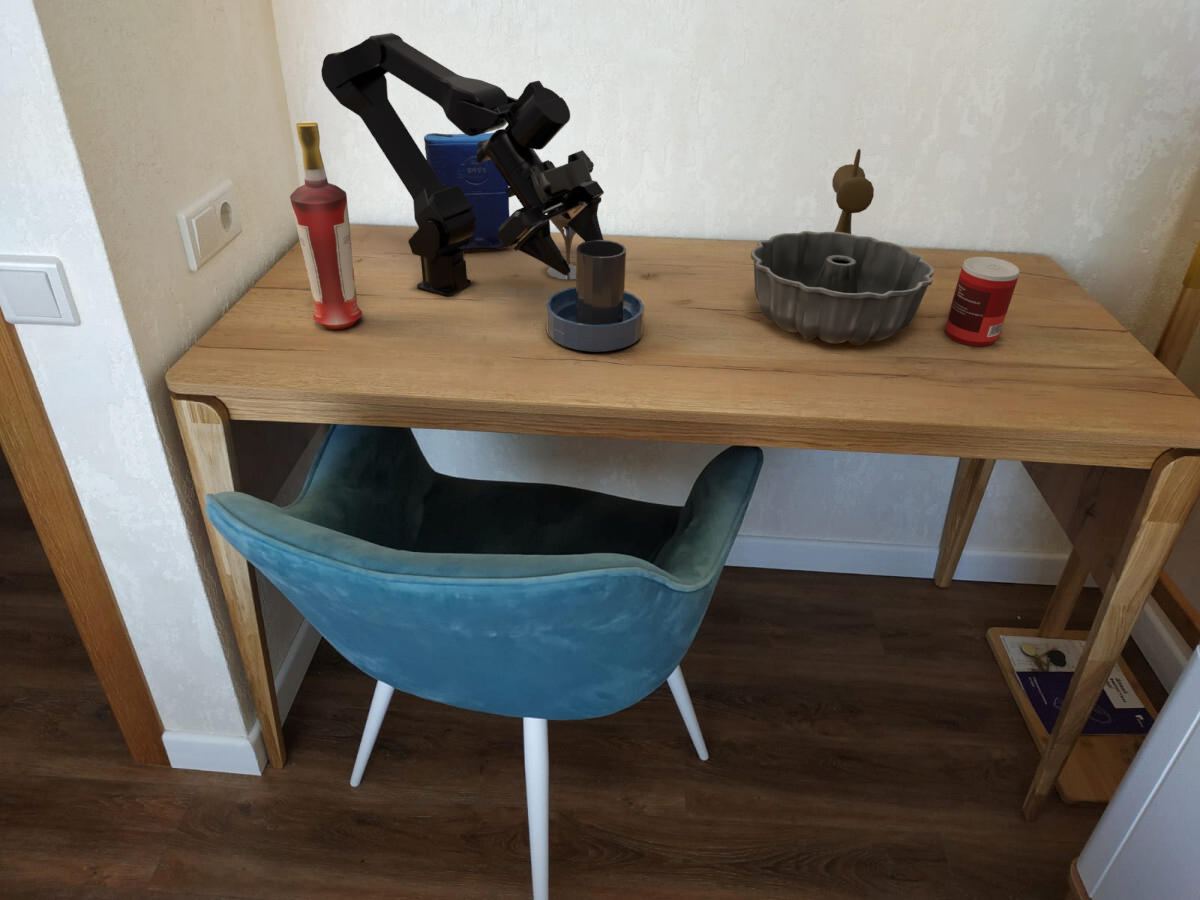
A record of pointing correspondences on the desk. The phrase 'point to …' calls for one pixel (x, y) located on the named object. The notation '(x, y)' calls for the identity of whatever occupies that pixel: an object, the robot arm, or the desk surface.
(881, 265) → the bundt pan
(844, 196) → the kendama
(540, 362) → the desk surface
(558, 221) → the wine glass
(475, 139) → the blue box
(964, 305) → the canned food
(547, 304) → the bowl
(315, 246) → the liquor
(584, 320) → the cup
